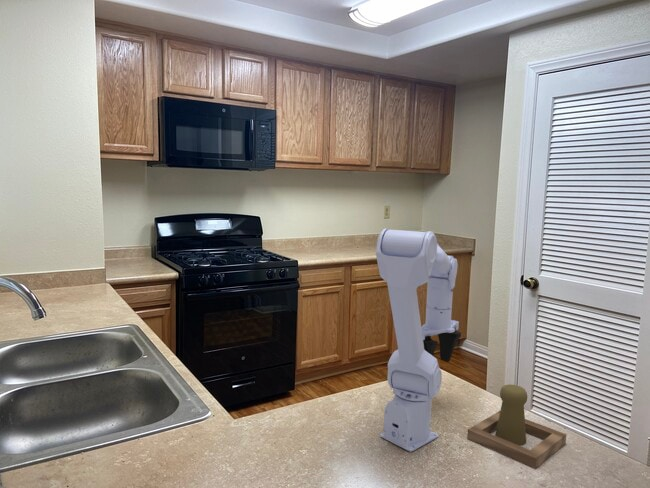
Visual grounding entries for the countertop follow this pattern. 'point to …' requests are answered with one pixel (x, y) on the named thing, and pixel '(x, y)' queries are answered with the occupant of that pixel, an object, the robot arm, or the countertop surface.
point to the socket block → (529, 457)
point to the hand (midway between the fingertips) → (435, 364)
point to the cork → (512, 415)
